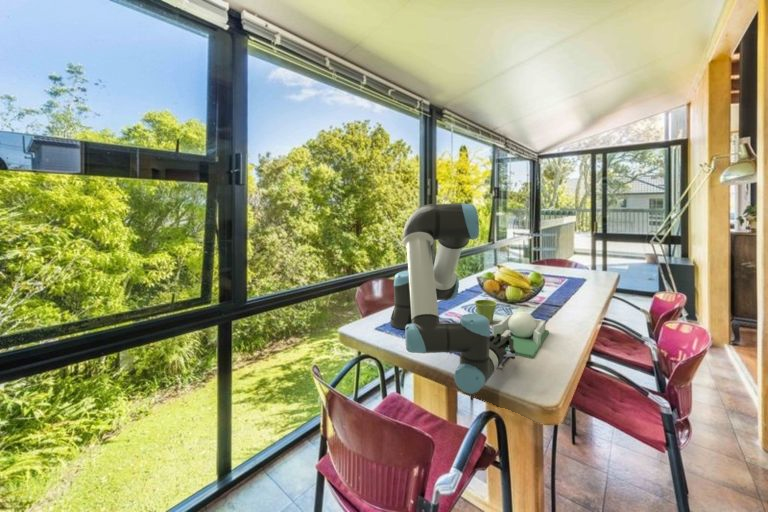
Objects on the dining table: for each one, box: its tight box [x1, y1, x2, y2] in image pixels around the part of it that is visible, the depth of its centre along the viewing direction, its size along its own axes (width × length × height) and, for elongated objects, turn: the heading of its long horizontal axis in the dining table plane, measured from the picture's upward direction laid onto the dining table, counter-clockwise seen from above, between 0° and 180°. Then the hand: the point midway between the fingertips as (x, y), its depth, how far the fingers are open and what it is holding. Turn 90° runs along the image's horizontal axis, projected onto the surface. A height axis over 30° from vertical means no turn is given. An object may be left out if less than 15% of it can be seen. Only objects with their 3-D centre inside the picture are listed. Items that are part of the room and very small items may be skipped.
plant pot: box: [474, 299, 498, 324], centre depth 150 cm, size 9×9×9 cm
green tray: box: [491, 313, 550, 359], centre depth 129 cm, size 17×28×5 cm, turn 145°
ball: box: [508, 311, 536, 339], centre depth 131 cm, size 10×10×10 cm
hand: (508, 333), depth 119 cm, fingers closed
